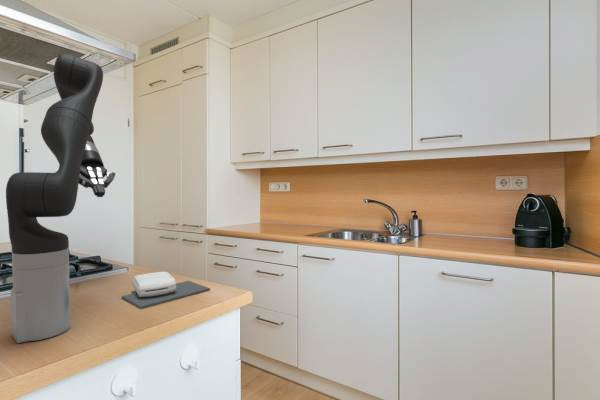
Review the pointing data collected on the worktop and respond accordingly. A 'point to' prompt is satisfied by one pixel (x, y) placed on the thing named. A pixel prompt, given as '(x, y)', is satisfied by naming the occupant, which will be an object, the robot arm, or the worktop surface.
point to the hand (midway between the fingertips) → (100, 195)
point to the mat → (166, 295)
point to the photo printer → (154, 284)
